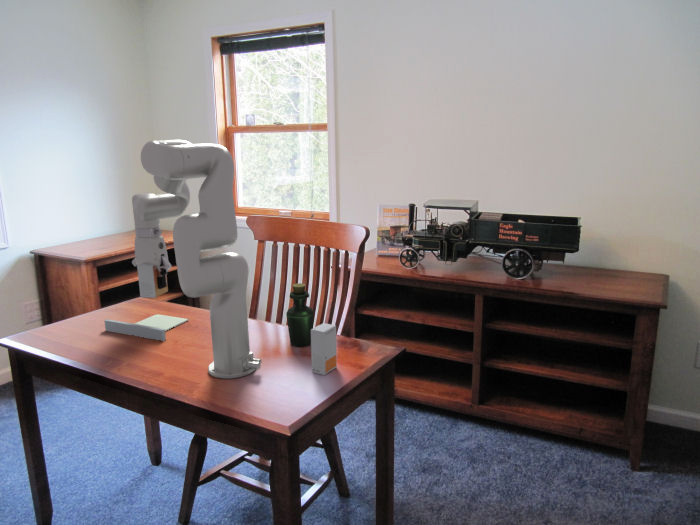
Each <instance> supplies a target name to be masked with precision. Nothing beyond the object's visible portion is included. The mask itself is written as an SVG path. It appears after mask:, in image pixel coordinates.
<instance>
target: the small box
mask: <svg viewBox="0 0 700 525" xmlns="http://www.w3.org/2000/svg"><path fill="white" fill-rule="evenodd" d="M164 267H165V266H164ZM137 269H138V271H137V278H138V286H139V296H140V298H151V299H152V298H158V297H159V296H160V297H161V295H163V294H165V293H167V292H168V291H169V286H168V276H167V275H168V274H167V275H165V276H166V287H165V288H162V289H158V283H157V277H159V276H158V274H157V271H156V268H155V266H154V265H145V264H141V265H138V266H137ZM160 271H162V270H161V269H160Z"/></svg>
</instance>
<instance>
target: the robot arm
mask: <svg viewBox="0 0 700 525" xmlns="http://www.w3.org/2000/svg"><path fill="white" fill-rule="evenodd" d="M140 163H141V165H142V168H143V169H144V171H145V172H146V173H147V174H150V175H151V176H153V181H154V184H155V185H156V187H157V188H158V189H159V190H160V191H162V192H164V193H158V194H157V193H156V194H155V193H152V192H141V193H135V194H133V195H132V197H131V202H132V203H131V205H132V211H133V212H132V213H133V221H134V230H135V238H134V258H133V259H132V261H131V264H132V265H133V266H134V267H135V268H134V269H135V270H136V271H137V272H138V269H137V266H138V265H141V264H145V265H154V266H155V268H156V271H157V274H158V276H159V277H157V283H158V289H162V288H165V287H166V276H165V275H168V273H169V271H170V269H172V264H171V263H170V261H169V256H168V251H167V250H168V249H167V246H166V241H165V238H164V236H163V235H162V234H163V230H162V229H161V222H160V221H161V220H163V219H170V218H177V219H176V220H175V222H174V224H173V229H172V241H173V249H174V254H175V263H176V269H177V276H178V282H179V285H180V288H181V290H182V293H183V294H184V295H185V296H186V297H189V298H192V299H193V298H199V297H205V296H209V295H212V298H211V301H210V304H209V321H210V329H211V330H210V332H211V333H210V334H211V343H212V345H211V346H212V355H213V356H212V358H213V361H212V362H211V363H209V365H208V366H207V369H208V370H207V371H208V374H209V375H210V376H212V377H214V378H218V379H228V380H229V379H238V378H242V377H244V376H247V375H250V374H252V373H253V372H255V371H256V370H257V371H259V370H260V369H261V364H262V362H263V361H262V359H261V358H255V357H254V351H251V348H250V332H249V320H248V302H247V298H248V297H247V296H248V294H247V292H248V282H249V276H250V275H249V273H250V272H249V271H250V270H249V265H248V262H247V259H245V257H244V256H243V255H242V254H239V253H236V252H223V253H218V254H212V255H207V256H202V257H201V254H202V252H203V253H204V252H208V251H209V252H210V251H215V250H220V249H224V248H225V249H226V248H228V247H231V246H233V245H234V244H236V242H237V240H238V226H237V223H238V222H237V217H236V209H235V207H236V206H235V200H234V199H235V198H234V192H233V190H234V178H235V163H234V158H233V156H232V154H231V152H230V151H229V150H228V149H227V148H226V147H225V146H223V145H221V144H217V143H191V142H190V141H187V140H184V139H157V140H150V141H147V142H145V144H144V145H143V147H142V149H141V150H140ZM200 178H201V179H202V178H205V179H204V180H203V182H202V184H201V186H200V188H199V190H198V195H197V196H198V197H197V198H198V203H199V205H198V206H199V213H198V212H197V213H190V214H189V213H188V214H184V212H185V211H186V210H187V208H188V206H189V205H190V202H191V201H190V200H191V194H190V193H191V192H190V188H189V186H188V183H187V180H191V179H200ZM183 214H184V215H183ZM164 266H165V267H164ZM160 269H161V270H162V271H160Z"/></svg>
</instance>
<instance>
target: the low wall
mask: <svg viewBox="0 0 700 525" xmlns="http://www.w3.org/2000/svg"><path fill="white" fill-rule="evenodd" d="M103 321H104V328H105V331H106V332H111V333H116V334H121V333H122V335H127V334H128V336H132V335H134V336H133V337H138V336H139V338H143V337H144V339H149V340H154V339H155V341H159V340H161V341H162V342H165V341H166V340H167V338H166V336H167V335H166V332H165V329H162V328H156V327H150V326H144V325H138V324H135V323H133V322H131V323H130V322H128V321H127V322H125V321H120V320H113V319H104V320H103ZM161 341H160V342H161Z"/></svg>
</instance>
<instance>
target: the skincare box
mask: <svg viewBox="0 0 700 525" xmlns="http://www.w3.org/2000/svg"><path fill="white" fill-rule="evenodd" d="M310 347H311V348H310V353H311V354H310V356H311V372H312V373H314V374H318V375H322V376H325V375H327V374H328V373H330V372H332V371H333V370H334V369H336V368H337V325H335V324H331V323H326V322H323V323H321V324H319V325H316V326H315V327H313V329H311V344H310Z"/></svg>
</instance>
